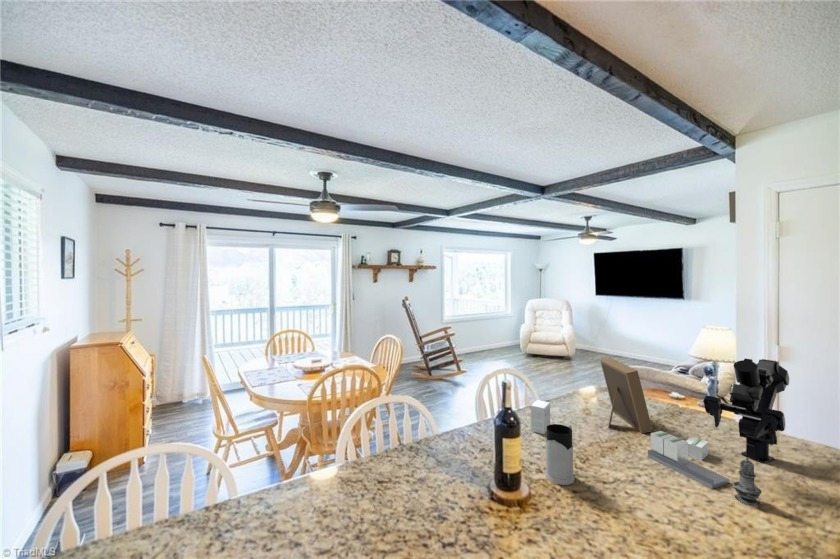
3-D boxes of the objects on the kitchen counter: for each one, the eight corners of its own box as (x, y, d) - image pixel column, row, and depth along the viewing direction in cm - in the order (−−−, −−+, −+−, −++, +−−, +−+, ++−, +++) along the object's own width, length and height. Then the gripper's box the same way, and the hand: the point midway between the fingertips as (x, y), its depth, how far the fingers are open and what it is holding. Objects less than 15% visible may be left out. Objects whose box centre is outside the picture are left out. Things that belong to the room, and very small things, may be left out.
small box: (537, 424, 153) (536, 399, 153) (550, 427, 150) (550, 402, 150) (530, 431, 147) (530, 405, 147) (544, 434, 144) (544, 408, 143)
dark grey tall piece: (767, 508, 98) (767, 463, 98) (741, 505, 99) (741, 461, 99) (751, 495, 104) (752, 453, 103) (728, 493, 105) (728, 451, 105)
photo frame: (622, 412, 165) (622, 357, 165) (652, 433, 144) (651, 370, 143) (589, 412, 165) (589, 358, 165) (614, 434, 144) (613, 371, 143)
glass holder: (539, 477, 114) (539, 429, 114) (558, 459, 124) (558, 416, 124) (568, 488, 108) (567, 437, 108) (585, 469, 118) (584, 423, 118)
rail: (664, 452, 128) (664, 428, 128) (729, 482, 110) (729, 454, 109) (647, 457, 125) (647, 432, 125) (712, 488, 107) (712, 460, 107)
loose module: (691, 449, 131) (691, 435, 131) (708, 454, 127) (708, 441, 127) (683, 455, 127) (683, 441, 127) (701, 461, 123) (701, 446, 123)
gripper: (707, 370, 122) (692, 402, 114) (785, 383, 107) (775, 421, 99) (713, 395, 125) (699, 428, 118) (789, 412, 110) (779, 450, 103)
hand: (735, 431), depth 109 cm, fingers open, 9 cm apart
